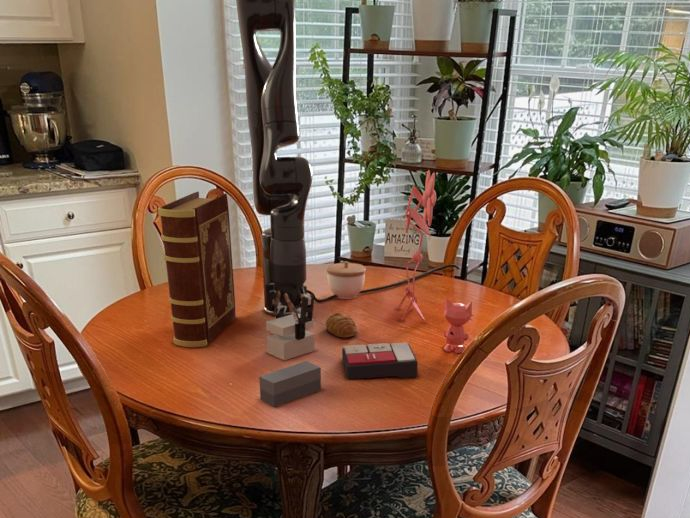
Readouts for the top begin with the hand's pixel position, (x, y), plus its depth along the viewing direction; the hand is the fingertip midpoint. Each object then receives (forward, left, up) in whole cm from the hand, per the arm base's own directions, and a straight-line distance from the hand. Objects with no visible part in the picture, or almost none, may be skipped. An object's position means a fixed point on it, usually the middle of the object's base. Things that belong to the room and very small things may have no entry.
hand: (290, 334), depth 160 cm
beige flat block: (0, 0, +1) cm, 1 cm away
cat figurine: (-29, +24, -4) cm, 38 cm away
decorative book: (+7, -24, -4) cm, 25 cm away
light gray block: (0, 0, -4) cm, 4 cm away
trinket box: (-39, -23, -4) cm, 46 cm away
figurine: (-43, +3, -4) cm, 43 cm away
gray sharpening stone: (+15, +18, -4) cm, 24 cm away
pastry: (-18, -2, -4) cm, 19 cm away
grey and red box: (-8, +20, -4) cm, 22 cm away
